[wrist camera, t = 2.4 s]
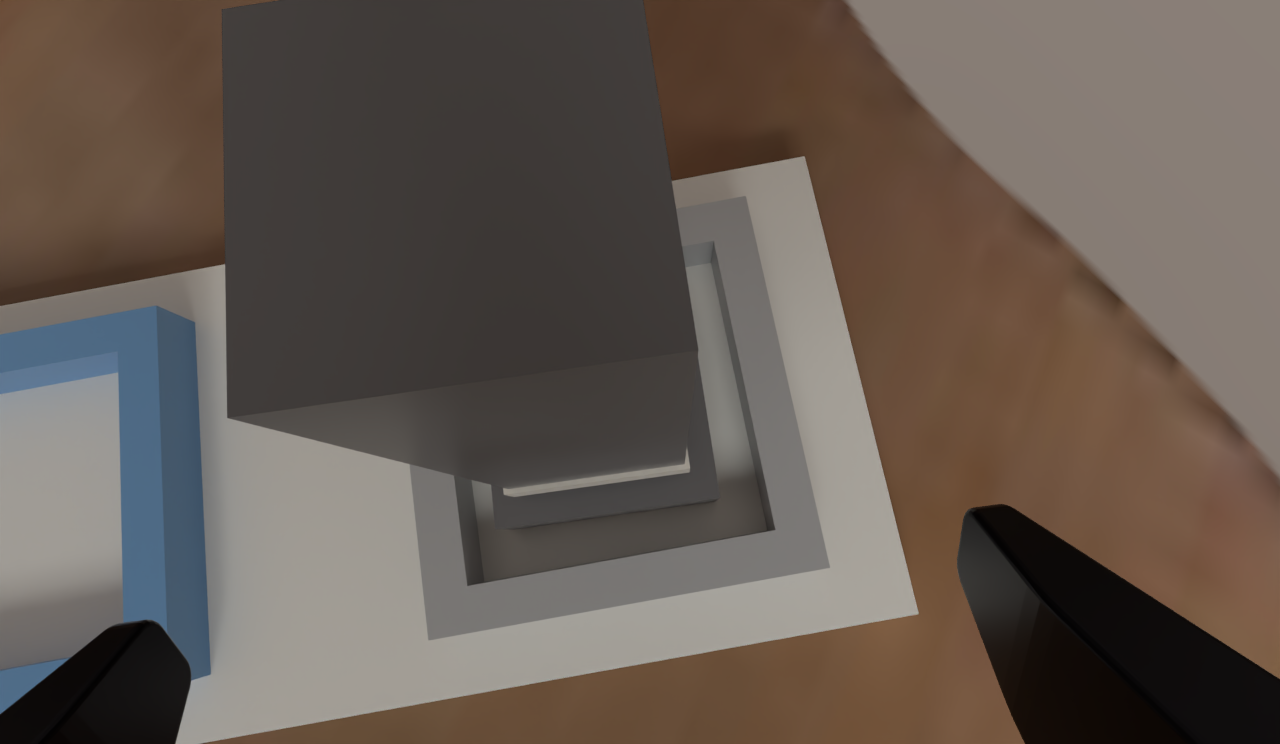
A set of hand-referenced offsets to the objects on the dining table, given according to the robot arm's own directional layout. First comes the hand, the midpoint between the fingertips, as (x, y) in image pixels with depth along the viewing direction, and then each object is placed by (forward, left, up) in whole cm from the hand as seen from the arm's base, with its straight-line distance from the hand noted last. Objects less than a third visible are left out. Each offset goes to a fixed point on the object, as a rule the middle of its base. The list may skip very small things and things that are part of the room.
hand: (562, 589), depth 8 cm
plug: (+2, -3, -10) cm, 11 cm away
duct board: (+8, +2, -11) cm, 14 cm away
